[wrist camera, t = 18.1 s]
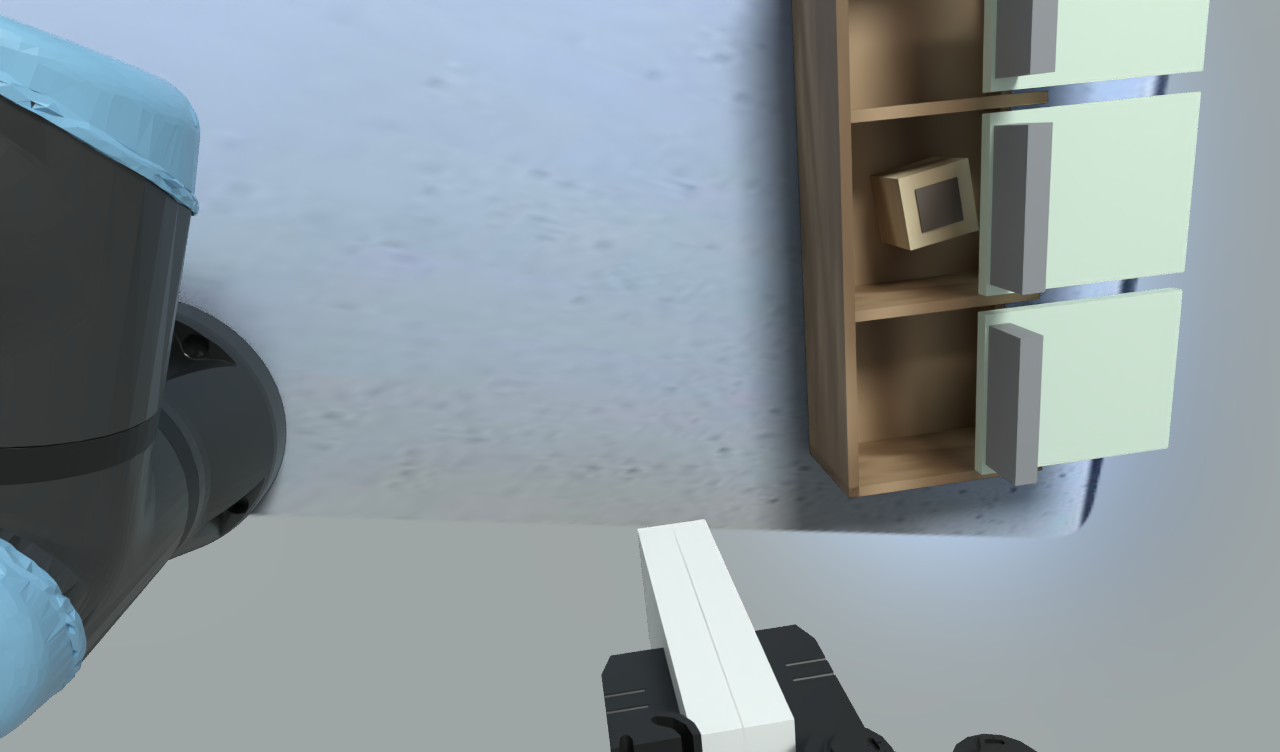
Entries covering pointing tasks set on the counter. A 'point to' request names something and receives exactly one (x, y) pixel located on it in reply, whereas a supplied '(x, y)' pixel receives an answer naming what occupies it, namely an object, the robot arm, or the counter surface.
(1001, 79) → the lid
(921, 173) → the letter cube
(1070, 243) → the lid
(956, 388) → the box
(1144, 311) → the lid
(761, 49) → the counter surface
